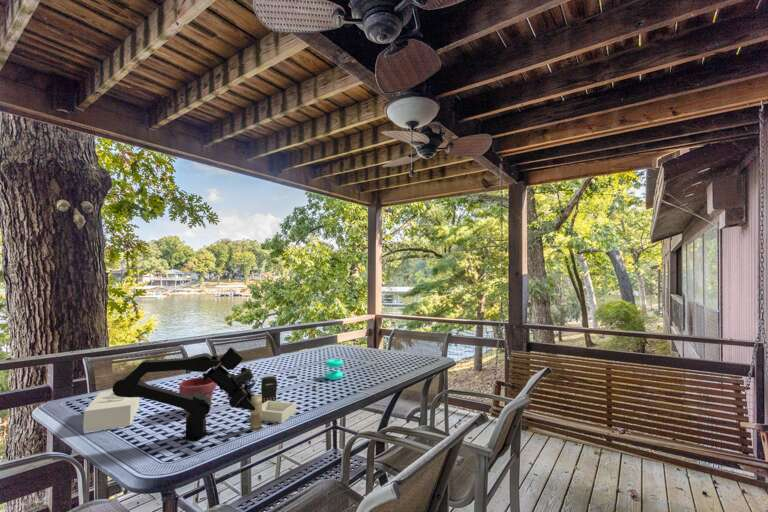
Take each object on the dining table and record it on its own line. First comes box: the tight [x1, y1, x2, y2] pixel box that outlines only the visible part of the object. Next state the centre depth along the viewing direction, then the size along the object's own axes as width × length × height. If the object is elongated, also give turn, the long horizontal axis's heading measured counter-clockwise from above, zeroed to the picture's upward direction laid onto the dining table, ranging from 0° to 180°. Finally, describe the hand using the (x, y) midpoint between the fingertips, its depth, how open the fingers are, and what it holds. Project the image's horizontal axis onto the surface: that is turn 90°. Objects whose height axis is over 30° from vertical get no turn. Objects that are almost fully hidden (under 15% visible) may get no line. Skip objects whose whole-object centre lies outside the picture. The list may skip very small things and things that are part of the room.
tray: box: [262, 400, 297, 424], centre depth 155 cm, size 12×14×4 cm
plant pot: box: [178, 376, 217, 416], centre depth 160 cm, size 14×14×13 cm
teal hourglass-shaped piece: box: [325, 358, 344, 381], centre depth 212 cm, size 10×10×10 cm
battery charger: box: [260, 375, 278, 404], centre depth 172 cm, size 7×4×11 cm, turn 113°
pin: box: [249, 394, 263, 431], centre depth 142 cm, size 4×4×12 cm
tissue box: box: [82, 390, 141, 431], centre depth 152 cm, size 14×25×11 cm, turn 27°
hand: (254, 405), depth 142 cm, fingers open, 9 cm apart
